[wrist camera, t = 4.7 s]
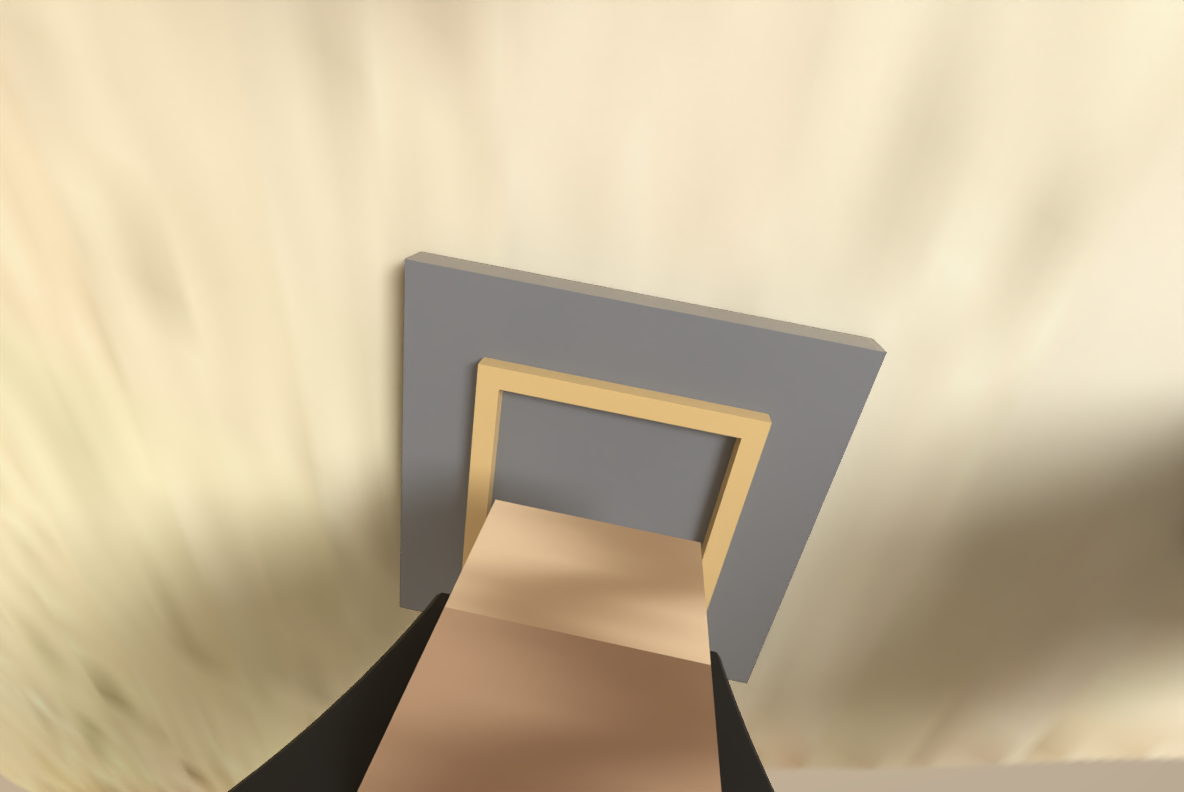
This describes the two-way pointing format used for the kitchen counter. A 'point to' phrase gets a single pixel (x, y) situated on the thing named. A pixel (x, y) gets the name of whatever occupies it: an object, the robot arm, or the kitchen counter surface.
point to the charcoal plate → (620, 428)
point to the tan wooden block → (561, 667)
